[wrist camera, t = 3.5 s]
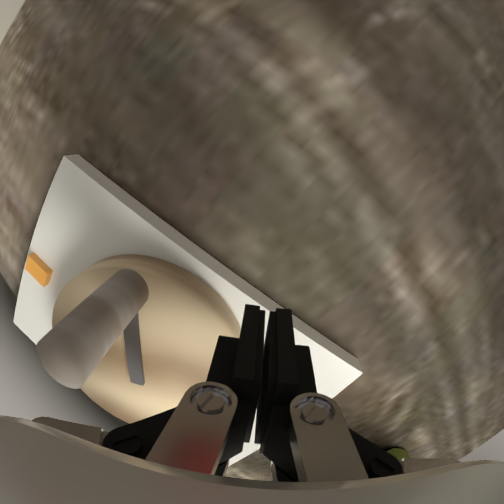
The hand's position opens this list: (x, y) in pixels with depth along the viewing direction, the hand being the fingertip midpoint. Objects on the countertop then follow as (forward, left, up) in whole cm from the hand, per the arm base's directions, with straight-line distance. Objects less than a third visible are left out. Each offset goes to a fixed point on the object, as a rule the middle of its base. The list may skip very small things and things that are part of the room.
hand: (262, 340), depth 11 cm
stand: (+2, +8, -6) cm, 11 cm away
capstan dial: (+3, +8, -4) cm, 9 cm away
